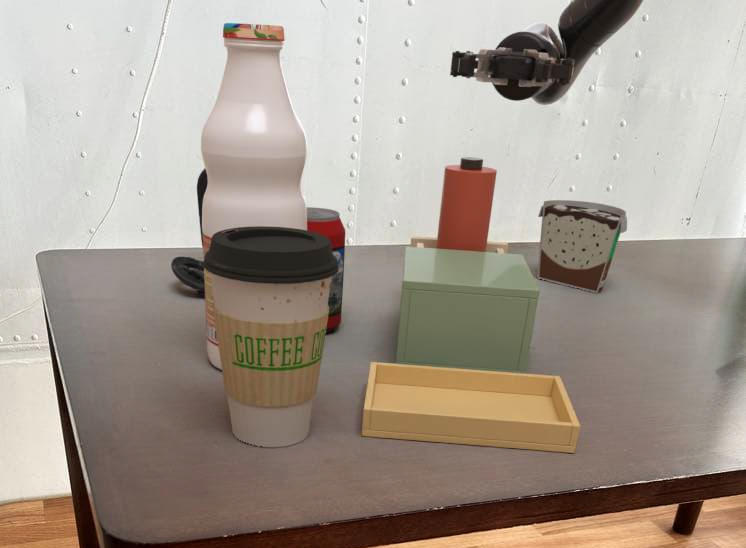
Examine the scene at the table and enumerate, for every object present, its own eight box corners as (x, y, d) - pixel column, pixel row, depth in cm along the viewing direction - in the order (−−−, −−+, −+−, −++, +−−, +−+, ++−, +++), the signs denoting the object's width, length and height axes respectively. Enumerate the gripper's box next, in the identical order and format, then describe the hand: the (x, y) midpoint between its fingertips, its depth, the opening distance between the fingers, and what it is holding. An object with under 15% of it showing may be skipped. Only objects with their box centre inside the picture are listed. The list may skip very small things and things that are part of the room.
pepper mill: (477, 293, 98) (496, 157, 90) (480, 307, 93) (500, 163, 85) (430, 290, 98) (445, 153, 90) (431, 303, 93) (446, 160, 85)
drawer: (406, 283, 105) (411, 227, 101) (495, 289, 104) (504, 234, 101) (404, 326, 89) (410, 262, 86) (508, 334, 89) (519, 270, 85)
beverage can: (282, 337, 87) (284, 218, 80) (277, 318, 92) (277, 205, 86) (345, 337, 88) (351, 219, 81) (335, 318, 93) (340, 206, 87)
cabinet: (398, 324, 92) (405, 246, 88) (510, 333, 92) (523, 254, 87) (395, 369, 80) (403, 280, 76) (524, 379, 79) (539, 290, 75)
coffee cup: (289, 469, 61) (293, 262, 53) (184, 436, 65) (173, 239, 57) (352, 425, 68) (364, 237, 60) (254, 398, 72) (253, 219, 64)
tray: (555, 400, 75) (560, 376, 74) (574, 453, 66) (580, 425, 64) (369, 386, 76) (370, 361, 75) (361, 436, 66) (363, 408, 65)
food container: (629, 288, 112) (647, 211, 106) (607, 296, 108) (625, 216, 102) (550, 270, 119) (564, 196, 113) (527, 276, 115) (540, 200, 109)
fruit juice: (187, 363, 79) (169, 19, 64) (245, 339, 86) (241, 23, 71) (267, 385, 75) (267, 24, 60) (321, 358, 82) (334, 28, 67)
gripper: (474, 28, 105) (445, 26, 92) (587, 35, 102) (572, 33, 88) (466, 94, 109) (437, 101, 96) (574, 103, 106) (559, 111, 92)
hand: (502, 68), depth 92 cm, fingers open, 8 cm apart
